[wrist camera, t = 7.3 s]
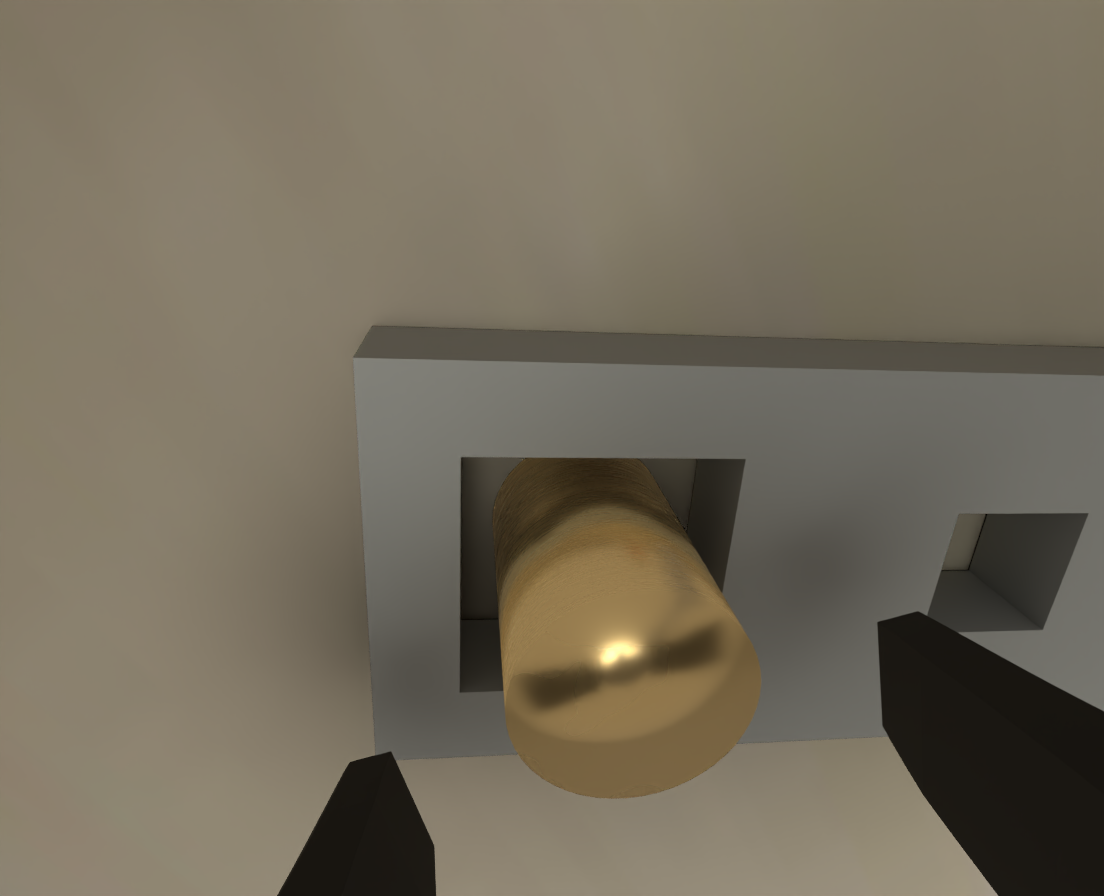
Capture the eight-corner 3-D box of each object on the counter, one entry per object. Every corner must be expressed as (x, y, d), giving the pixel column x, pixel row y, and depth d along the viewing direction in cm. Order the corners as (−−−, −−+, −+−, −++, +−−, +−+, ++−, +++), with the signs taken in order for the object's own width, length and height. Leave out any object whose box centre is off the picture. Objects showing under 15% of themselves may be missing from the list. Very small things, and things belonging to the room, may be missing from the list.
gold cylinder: (668, 437, 15) (778, 587, 10) (654, 586, 17) (743, 788, 11) (491, 440, 15) (504, 599, 9) (493, 593, 16) (505, 807, 11)
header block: (1158, 349, 16) (1274, 379, 14) (1035, 659, 19) (1111, 725, 17) (372, 326, 14) (353, 357, 11) (388, 681, 17) (375, 761, 15)
